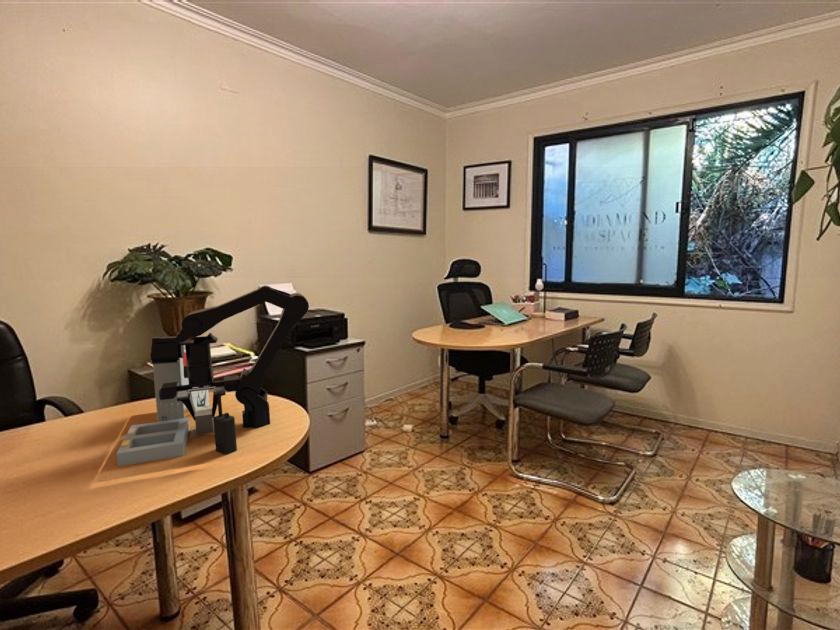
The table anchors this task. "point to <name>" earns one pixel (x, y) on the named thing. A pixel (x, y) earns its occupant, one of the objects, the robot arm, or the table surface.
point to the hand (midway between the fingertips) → (204, 418)
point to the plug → (204, 420)
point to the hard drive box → (172, 407)
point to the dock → (154, 442)
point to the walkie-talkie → (224, 431)
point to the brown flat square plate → (194, 435)
